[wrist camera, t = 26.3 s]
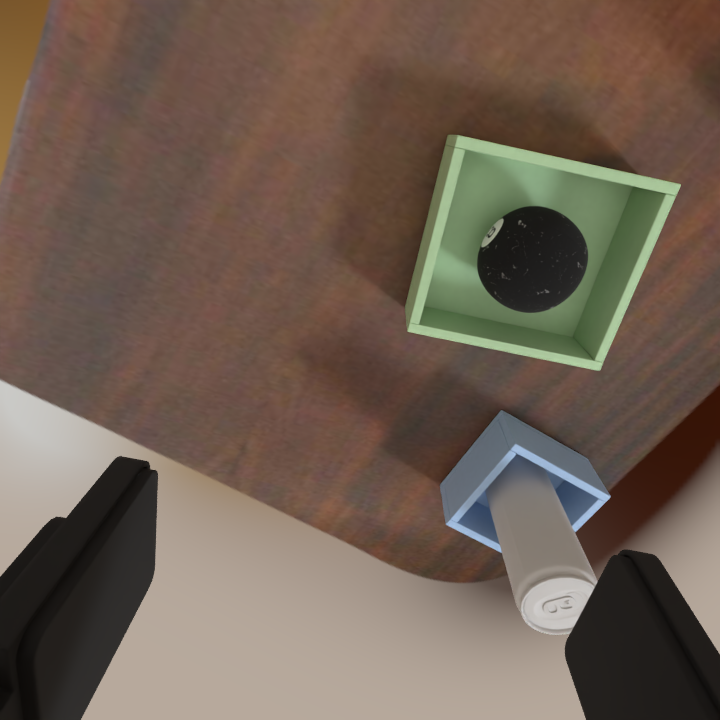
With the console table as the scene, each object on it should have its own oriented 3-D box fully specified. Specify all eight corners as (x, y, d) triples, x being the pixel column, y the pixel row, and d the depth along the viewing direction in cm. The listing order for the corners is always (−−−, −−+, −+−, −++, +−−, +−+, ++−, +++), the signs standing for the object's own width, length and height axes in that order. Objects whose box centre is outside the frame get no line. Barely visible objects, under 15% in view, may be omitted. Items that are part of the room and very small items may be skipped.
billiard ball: (524, 311, 34) (549, 345, 29) (452, 262, 33) (465, 288, 28) (587, 236, 32) (628, 257, 27) (512, 181, 31) (539, 191, 26)
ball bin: (447, 134, 31) (457, 134, 27) (642, 177, 31) (681, 184, 27) (404, 308, 35) (407, 331, 31) (574, 343, 36) (599, 371, 32)
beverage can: (552, 489, 40) (615, 623, 29) (493, 508, 41) (532, 645, 30) (534, 442, 39) (592, 565, 28) (473, 463, 40) (506, 590, 29)
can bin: (501, 409, 38) (515, 443, 34) (587, 458, 40) (611, 496, 35) (439, 484, 41) (445, 524, 37) (521, 527, 43) (536, 570, 38)
